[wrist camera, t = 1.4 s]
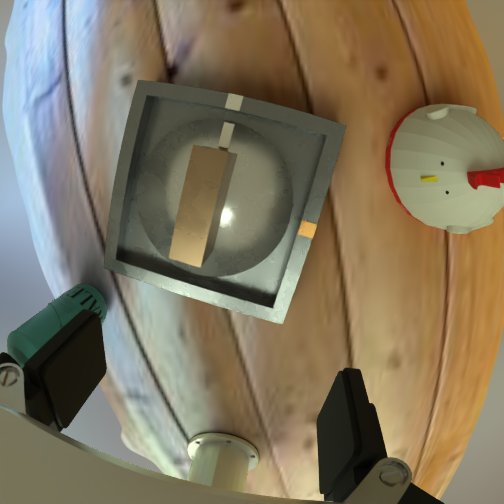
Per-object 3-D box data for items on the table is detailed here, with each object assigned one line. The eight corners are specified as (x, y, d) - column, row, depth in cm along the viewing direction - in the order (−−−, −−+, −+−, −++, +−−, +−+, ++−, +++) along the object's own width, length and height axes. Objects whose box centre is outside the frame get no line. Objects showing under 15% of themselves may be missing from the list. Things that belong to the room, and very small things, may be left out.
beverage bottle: (77, 311, 40) (-9, 389, 21) (76, 271, 38) (-26, 341, 19) (114, 325, 40) (32, 418, 21) (114, 284, 38) (15, 371, 19)
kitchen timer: (371, 114, 29) (433, 86, 15) (469, 102, 26) (551, 86, 12) (397, 236, 32) (463, 289, 18) (488, 212, 30) (568, 245, 16)
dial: (267, 291, 33) (263, 318, 27) (131, 249, 33) (104, 267, 28) (312, 143, 28) (318, 139, 23) (159, 107, 29) (133, 98, 23)
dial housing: (282, 307, 36) (282, 325, 32) (119, 257, 36) (102, 268, 32) (338, 129, 30) (346, 125, 26) (153, 87, 30) (137, 79, 26)
